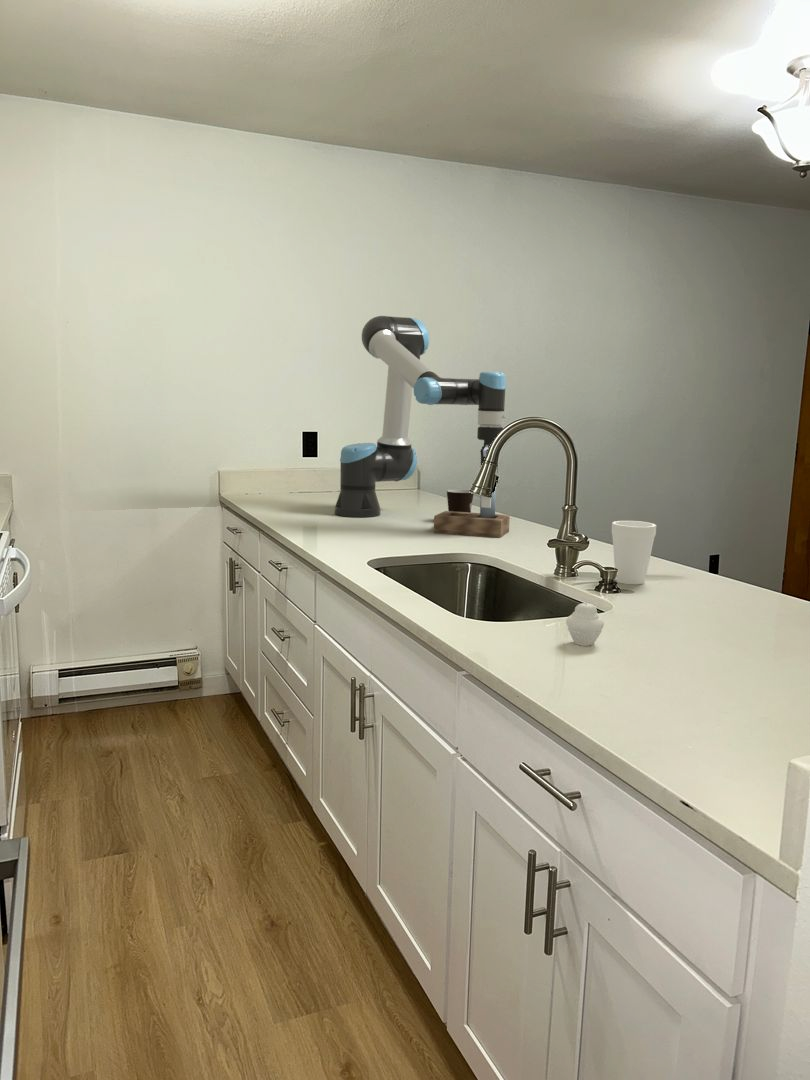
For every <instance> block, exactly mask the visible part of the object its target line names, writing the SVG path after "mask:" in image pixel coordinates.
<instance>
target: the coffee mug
mask: <svg viewBox="0 0 810 1080" xmlns="http://www.w3.org/2000/svg"><path fill="white" fill-rule="evenodd" d="M469 490H470V489H448V490H446V497H447V500H446V501H447V511H455V512H470V513H472V506H473V501H474V500H473V499H474V494H471V493H469Z"/></svg>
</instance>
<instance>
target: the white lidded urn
mask: <svg viewBox="0 0 810 1080" xmlns="http://www.w3.org/2000/svg"><path fill="white" fill-rule="evenodd" d="M565 624H566V626H567V630H568V632H569V635H570V637H571V639H572V640H573V643H574V644H575V645H578V646H583V647H584V646H585V647H589V646H590V647H591V646H593V645H595V643H596V641H597V640H598V638H599V636H600V635H601V633H602V631H603V628H604V626H605V622H604V619H602V617H601V616H600V615H599V613H598V610H597V607H596V605H594V604H592V603H588V602H583V603H579V604H577V605H576V606H575V608H574V611H573V612H572V613H571V614H570V615H568V617H567V618H566V620H565Z"/></svg>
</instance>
